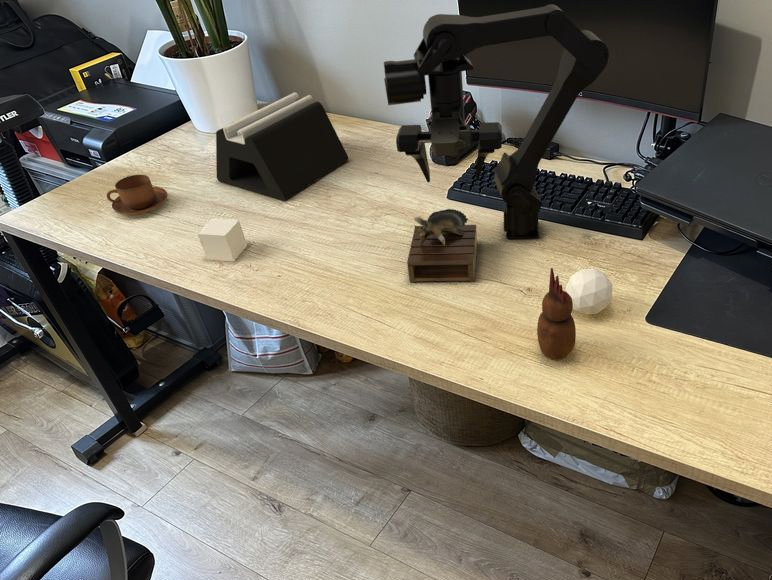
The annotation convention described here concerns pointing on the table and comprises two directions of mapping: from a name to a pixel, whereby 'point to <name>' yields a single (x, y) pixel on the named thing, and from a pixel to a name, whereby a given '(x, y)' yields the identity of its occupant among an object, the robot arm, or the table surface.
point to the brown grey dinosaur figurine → (440, 224)
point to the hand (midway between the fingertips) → (453, 180)
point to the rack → (444, 256)
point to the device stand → (279, 148)
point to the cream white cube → (222, 239)
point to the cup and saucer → (136, 195)
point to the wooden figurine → (556, 322)
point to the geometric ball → (589, 291)
